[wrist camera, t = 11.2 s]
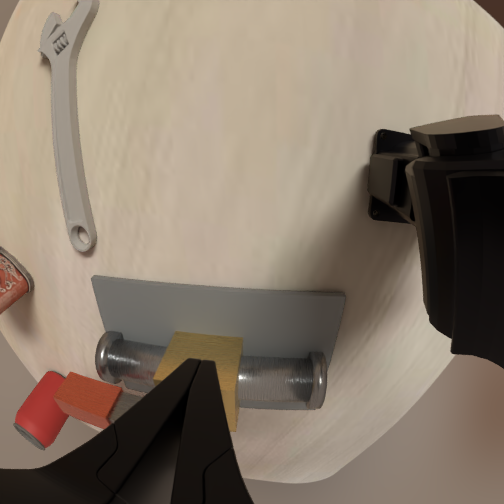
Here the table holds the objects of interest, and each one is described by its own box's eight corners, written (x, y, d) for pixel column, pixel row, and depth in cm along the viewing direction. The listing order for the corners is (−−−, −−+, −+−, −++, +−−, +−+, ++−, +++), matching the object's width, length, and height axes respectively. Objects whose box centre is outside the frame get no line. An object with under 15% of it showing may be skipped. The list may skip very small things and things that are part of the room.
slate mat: (344, 292, 21) (346, 296, 21) (315, 405, 27) (315, 409, 26) (94, 275, 22) (90, 278, 22) (128, 384, 28) (126, 388, 28)
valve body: (323, 336, 23) (335, 393, 17) (313, 380, 25) (318, 434, 19) (112, 316, 24) (79, 359, 18) (126, 360, 26) (101, 403, 20)
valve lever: (214, 405, 18) (206, 442, 15) (216, 420, 19) (209, 455, 16) (70, 371, 19) (52, 396, 15) (79, 387, 19) (63, 412, 16)
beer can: (42, 363, 30) (3, 414, 19) (72, 377, 30) (33, 436, 19) (56, 390, 32) (24, 439, 21) (85, 404, 32) (54, 458, 21)
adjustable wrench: (104, 245, 22) (93, 253, 20) (56, 244, 22) (45, 251, 21) (105, -13, 12) (95, -19, 11) (55, 12, 13) (45, 8, 11)
